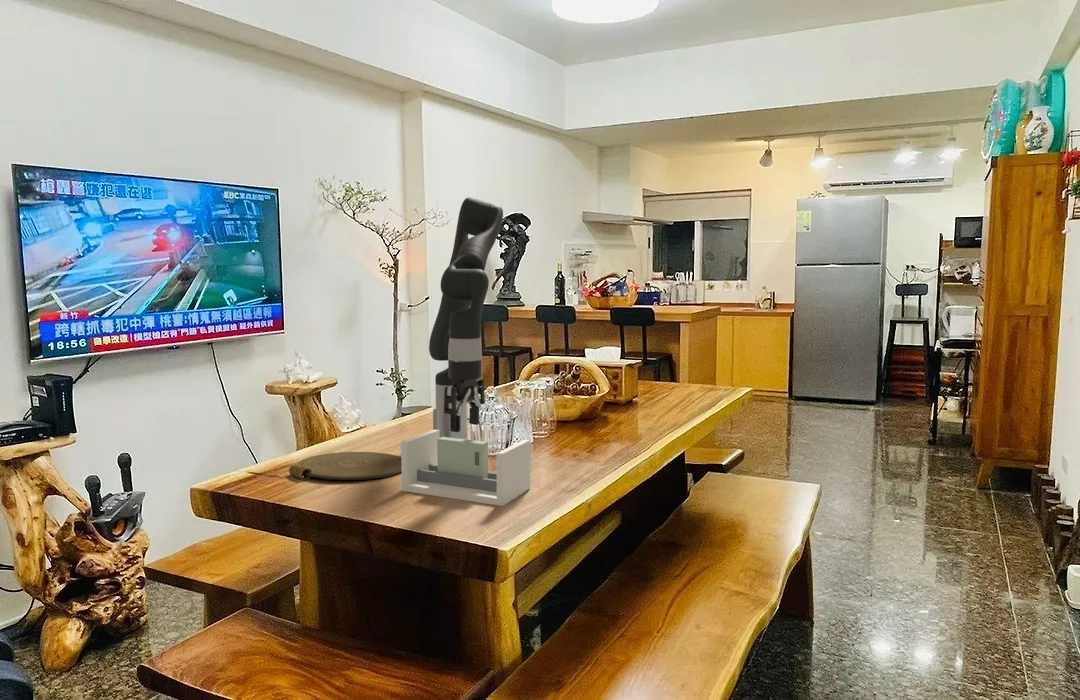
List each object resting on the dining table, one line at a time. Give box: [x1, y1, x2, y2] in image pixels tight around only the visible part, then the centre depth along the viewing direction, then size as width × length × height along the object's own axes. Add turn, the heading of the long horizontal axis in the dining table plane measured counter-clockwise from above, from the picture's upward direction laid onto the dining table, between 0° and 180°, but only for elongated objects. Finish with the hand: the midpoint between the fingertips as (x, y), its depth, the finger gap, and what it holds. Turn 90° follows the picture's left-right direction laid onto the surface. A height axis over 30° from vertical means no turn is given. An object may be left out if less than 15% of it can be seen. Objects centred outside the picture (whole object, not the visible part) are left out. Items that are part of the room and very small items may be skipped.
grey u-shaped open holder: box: [400, 429, 532, 507], centre depth 171 cm, size 26×14×12 cm, turn 66°
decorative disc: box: [288, 451, 402, 481], centre depth 190 cm, size 29×3×30 cm
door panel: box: [437, 437, 489, 478], centre depth 171 cm, size 12×3×10 cm, turn 66°
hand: (465, 427), depth 170 cm, fingers open, 8 cm apart
